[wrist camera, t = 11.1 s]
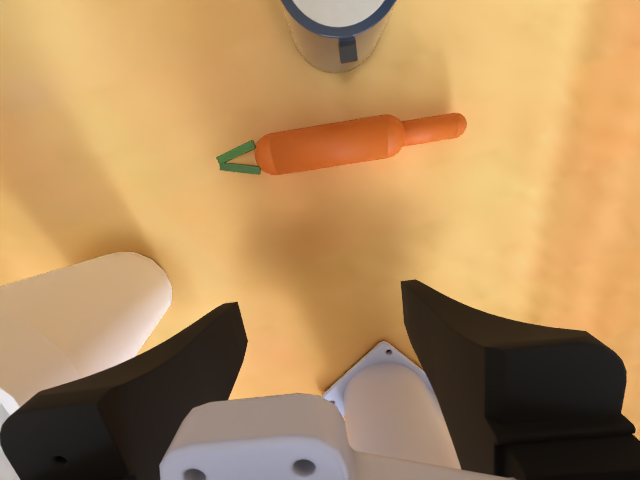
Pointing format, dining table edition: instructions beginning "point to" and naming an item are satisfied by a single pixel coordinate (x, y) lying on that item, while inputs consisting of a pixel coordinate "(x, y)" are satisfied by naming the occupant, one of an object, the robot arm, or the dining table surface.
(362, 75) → the dining table surface
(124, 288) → the foam cup
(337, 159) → the carrot
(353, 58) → the mug
